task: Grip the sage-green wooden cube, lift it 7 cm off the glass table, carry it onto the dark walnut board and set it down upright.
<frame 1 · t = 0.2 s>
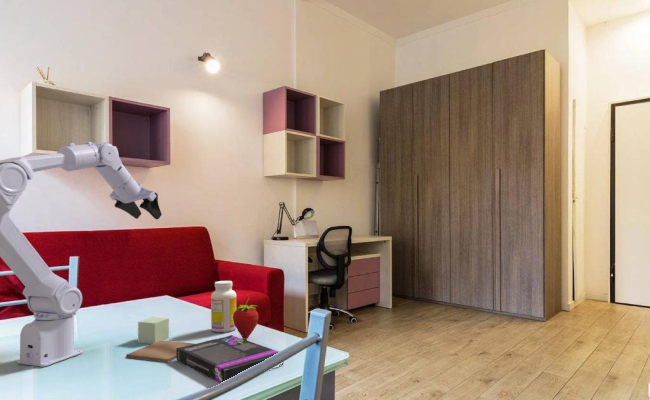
hand: (148, 216, 119), 31 cm above the table, tool tilted 45°, fingers open, 7 cm apart
strawberry: (245, 339, 104), on the table
supplement bottle: (224, 330, 112), on the table
box: (228, 366, 87), on the table
walnut board: (164, 351, 95), on the table
sage cube: (153, 340, 104), on the table
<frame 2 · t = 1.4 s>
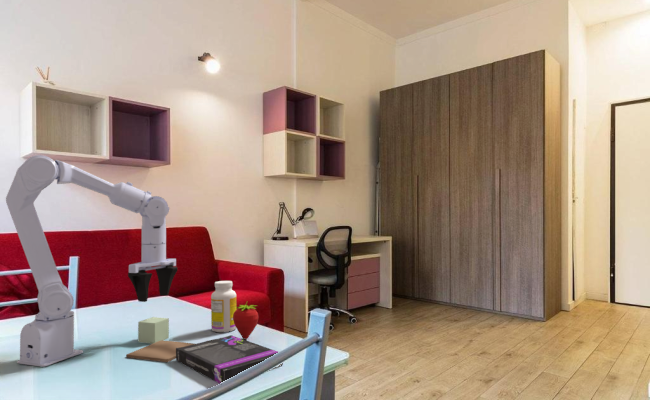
hand: (153, 298, 104), 10 cm above the table, tool pointing down, fingers open, 7 cm apart
nothing on the table moved.
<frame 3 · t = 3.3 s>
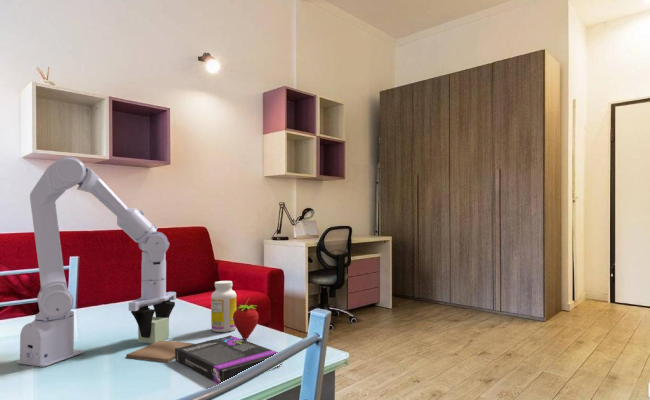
hand: (153, 334, 104), 1 cm above the table, tool pointing down, fingers closed on sage cube, 5 cm apart
sage cube: (153, 339, 104), on the table, touching gripper
everything else where it was.
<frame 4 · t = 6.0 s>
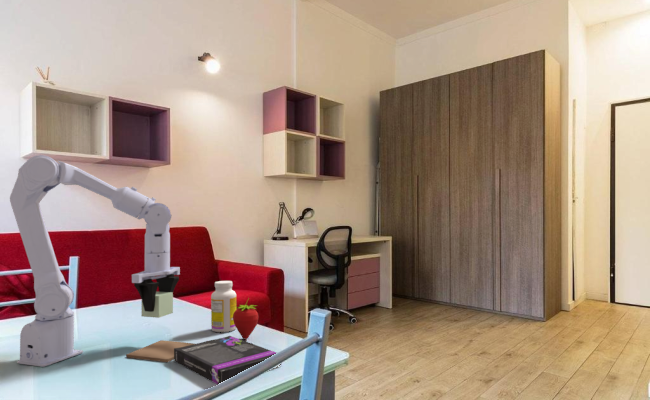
hand: (157, 308, 101), 8 cm above the table, tool pointing down, fingers closed on sage cube, 5 cm apart
sage cube: (157, 314, 101), point 7 cm above the table, touching gripper
everything else where it was.
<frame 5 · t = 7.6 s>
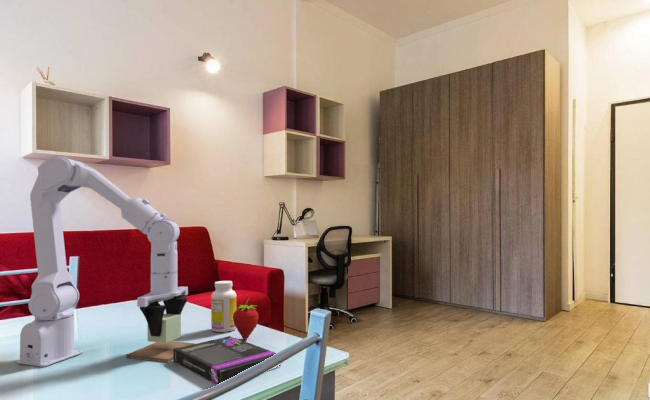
hand: (164, 332, 95), 4 cm above the table, tool pointing down, fingers closed on sage cube, 5 cm apart
sage cube: (164, 338, 95), point 3 cm above the table, touching gripper
everything else where it was.
when the fingers open (3 cm above the table, at t = 8.9 s): sage cube stays where it is, resting on walnut board.
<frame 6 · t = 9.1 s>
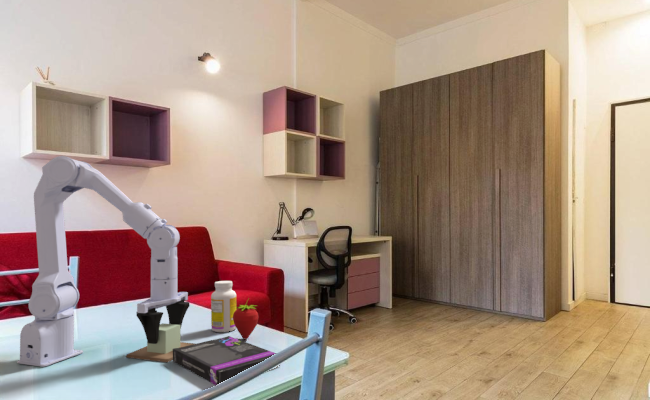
hand: (164, 338, 95), 3 cm above the table, tool pointing down, fingers open, 7 cm apart
sage cube: (164, 349, 95), point 1 cm above the table, touching walnut board
everything else where it was.
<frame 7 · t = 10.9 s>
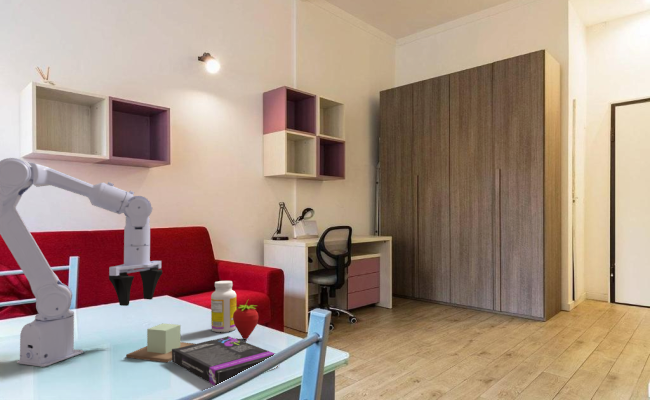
hand: (136, 302, 100), 10 cm above the table, tool pointing down, fingers open, 7 cm apart
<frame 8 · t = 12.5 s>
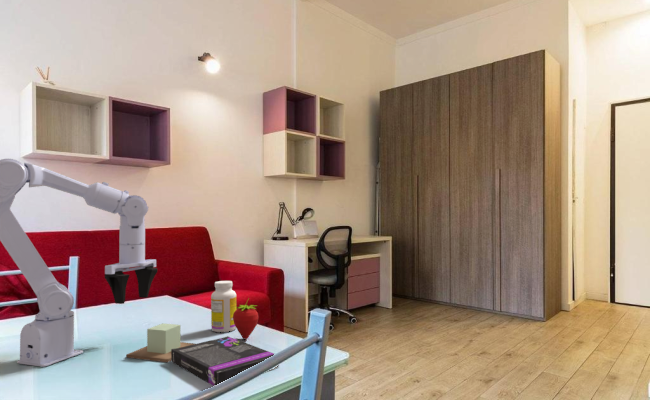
hand: (132, 300, 102), 10 cm above the table, tool pointing down, fingers open, 7 cm apart
at the end: sage cube inside the target area on the walnut board (0.0 cm from its centre), point 0.6 cm above the walnut board's base; sage cube tilted 0°; sage cube touching walnut board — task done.
